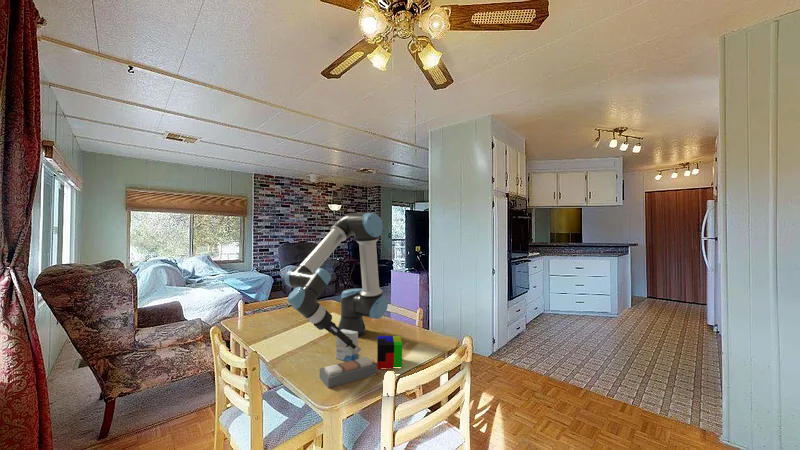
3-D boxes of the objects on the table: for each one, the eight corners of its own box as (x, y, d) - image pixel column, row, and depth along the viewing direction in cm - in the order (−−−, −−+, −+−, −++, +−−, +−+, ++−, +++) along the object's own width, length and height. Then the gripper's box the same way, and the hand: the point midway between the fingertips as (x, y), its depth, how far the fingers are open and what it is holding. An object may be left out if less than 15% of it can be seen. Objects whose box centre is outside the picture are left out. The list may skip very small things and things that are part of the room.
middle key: (351, 366, 125) (352, 360, 125) (357, 371, 121) (357, 365, 121) (340, 369, 122) (340, 363, 122) (345, 375, 118) (345, 368, 118)
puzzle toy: (377, 358, 137) (377, 336, 137) (399, 358, 138) (400, 335, 138) (377, 369, 127) (377, 344, 127) (401, 369, 128) (402, 344, 128)
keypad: (366, 365, 131) (366, 357, 131) (377, 374, 123) (377, 365, 123) (319, 377, 120) (319, 368, 120) (328, 388, 112) (328, 378, 112)
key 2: (366, 363, 128) (366, 356, 128) (372, 367, 124) (372, 361, 124) (355, 365, 126) (355, 359, 126) (360, 370, 122) (361, 364, 122)
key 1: (336, 370, 121) (336, 364, 121) (342, 375, 117) (342, 369, 117) (324, 373, 118) (324, 367, 118) (329, 379, 114) (329, 372, 114)
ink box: (358, 358, 138) (358, 331, 138) (351, 362, 133) (352, 334, 133) (341, 354, 141) (342, 328, 141) (335, 358, 137) (335, 331, 137)
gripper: (303, 316, 138) (335, 344, 147) (323, 333, 119) (359, 364, 127) (316, 303, 141) (346, 331, 150) (337, 317, 122) (371, 348, 130)
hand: (352, 346), depth 139 cm, fingers open, 12 cm apart
